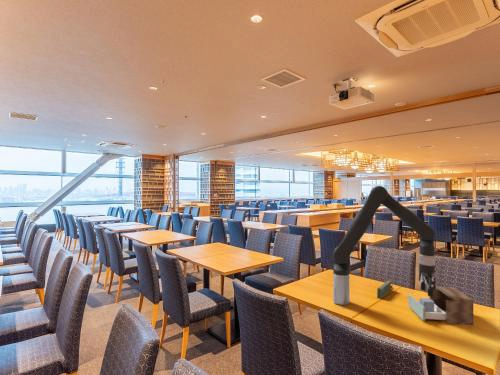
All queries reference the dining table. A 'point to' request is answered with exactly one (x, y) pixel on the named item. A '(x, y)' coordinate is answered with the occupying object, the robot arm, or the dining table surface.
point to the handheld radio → (384, 289)
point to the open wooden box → (454, 305)
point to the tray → (421, 312)
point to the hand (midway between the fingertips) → (426, 293)
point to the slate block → (427, 304)
